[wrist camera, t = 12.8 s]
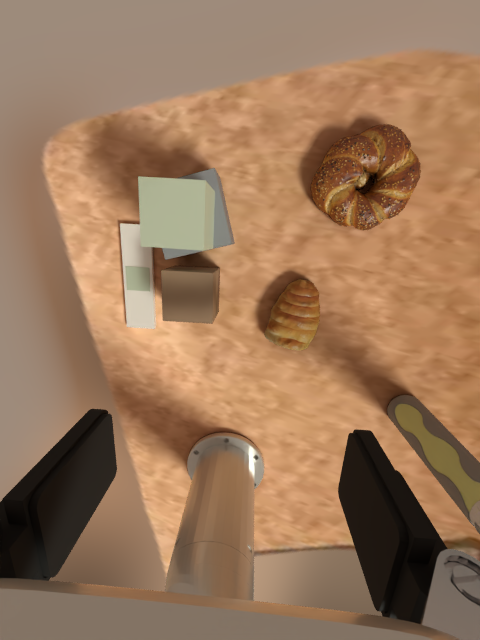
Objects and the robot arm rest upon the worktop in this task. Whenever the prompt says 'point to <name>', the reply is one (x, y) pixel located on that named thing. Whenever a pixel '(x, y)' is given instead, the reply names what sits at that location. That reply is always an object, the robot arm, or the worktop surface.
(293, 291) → the pastry
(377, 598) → the robot arm
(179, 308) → the walnut block
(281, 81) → the worktop surface
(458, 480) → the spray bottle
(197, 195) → the sage block
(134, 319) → the card
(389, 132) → the pretzel
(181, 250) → the base block
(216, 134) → the worktop surface
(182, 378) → the worktop surface
